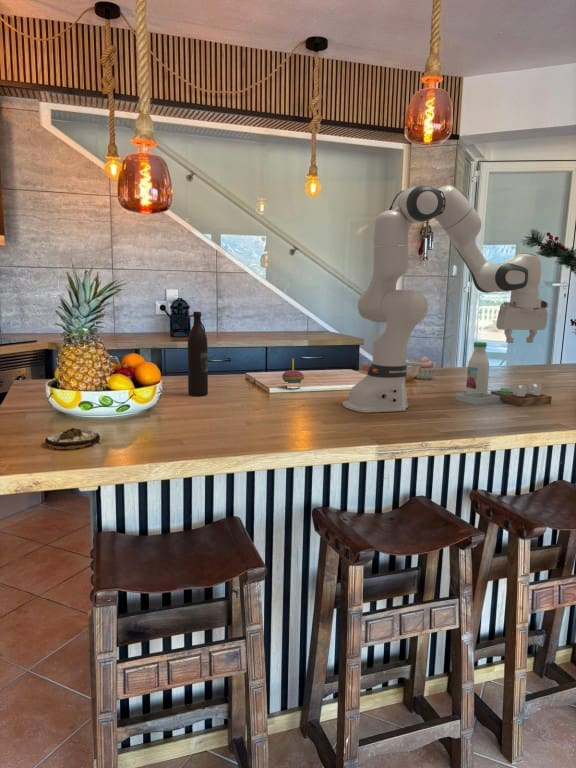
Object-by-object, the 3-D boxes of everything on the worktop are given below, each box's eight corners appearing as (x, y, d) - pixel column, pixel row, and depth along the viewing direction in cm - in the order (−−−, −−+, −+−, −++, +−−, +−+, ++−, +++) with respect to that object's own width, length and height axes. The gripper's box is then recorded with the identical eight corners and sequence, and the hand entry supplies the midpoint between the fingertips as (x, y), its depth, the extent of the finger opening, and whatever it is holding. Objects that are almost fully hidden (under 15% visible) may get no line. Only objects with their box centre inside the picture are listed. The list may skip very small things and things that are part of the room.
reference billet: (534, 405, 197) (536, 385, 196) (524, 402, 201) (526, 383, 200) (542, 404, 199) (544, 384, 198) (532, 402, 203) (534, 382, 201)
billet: (518, 406, 195) (520, 386, 193) (509, 404, 198) (511, 384, 197) (527, 405, 196) (529, 385, 195) (518, 403, 200) (519, 383, 199)
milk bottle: (484, 393, 218) (488, 341, 214) (489, 397, 210) (493, 343, 207) (463, 392, 219) (467, 340, 215) (468, 396, 211) (472, 343, 208)
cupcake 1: (281, 386, 226) (281, 356, 224) (302, 386, 227) (302, 356, 224) (283, 390, 217) (283, 359, 215) (305, 390, 218) (305, 359, 216)
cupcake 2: (436, 378, 252) (437, 355, 250) (432, 381, 243) (434, 358, 242) (415, 376, 256) (416, 354, 254) (411, 379, 247) (412, 356, 245)
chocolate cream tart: (67, 457, 132) (66, 439, 131) (28, 446, 140) (27, 430, 139) (116, 442, 144) (116, 426, 143) (78, 434, 152) (78, 419, 151)
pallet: (519, 408, 192) (520, 399, 191) (501, 403, 199) (502, 395, 198) (550, 404, 198) (551, 396, 198) (532, 400, 205) (533, 392, 205)
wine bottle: (202, 397, 201) (201, 312, 196) (184, 395, 203) (183, 311, 198) (211, 393, 208) (210, 311, 202) (194, 392, 210) (193, 311, 205)
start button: (505, 397, 202) (505, 389, 202) (497, 396, 205) (498, 387, 205) (512, 397, 204) (512, 389, 203) (504, 395, 207) (505, 387, 206)
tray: (473, 406, 194) (474, 398, 194) (455, 401, 202) (456, 394, 202) (499, 403, 199) (500, 396, 199) (480, 398, 207) (481, 391, 207)
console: (504, 402, 200) (505, 394, 200) (490, 399, 206) (490, 391, 206) (519, 401, 203) (520, 393, 203) (504, 397, 209) (504, 389, 209)
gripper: (508, 302, 186) (504, 344, 188) (552, 303, 194) (547, 343, 196) (494, 301, 191) (490, 342, 193) (537, 302, 200) (533, 341, 202)
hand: (519, 342), depth 195 cm, fingers open, 8 cm apart
